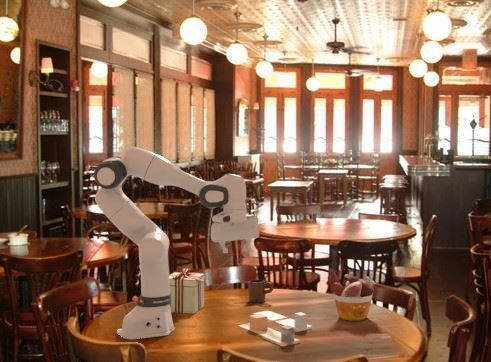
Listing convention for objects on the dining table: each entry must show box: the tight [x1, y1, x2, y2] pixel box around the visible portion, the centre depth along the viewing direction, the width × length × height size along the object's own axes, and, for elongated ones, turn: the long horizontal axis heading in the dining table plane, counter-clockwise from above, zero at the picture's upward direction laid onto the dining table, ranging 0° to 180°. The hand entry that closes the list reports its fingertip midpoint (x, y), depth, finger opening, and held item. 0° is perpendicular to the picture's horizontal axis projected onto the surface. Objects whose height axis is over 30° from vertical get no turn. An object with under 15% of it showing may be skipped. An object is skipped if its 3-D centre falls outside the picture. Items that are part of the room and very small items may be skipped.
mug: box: [248, 278, 274, 304], centre depth 308 cm, size 12×8×9 cm, turn 66°
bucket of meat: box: [327, 268, 376, 322], centre depth 277 cm, size 20×16×20 cm
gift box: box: [169, 268, 206, 314], centre depth 297 cm, size 17×18×17 cm
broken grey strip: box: [252, 310, 313, 333], centre depth 271 cm, size 8×30×6 cm, turn 33°
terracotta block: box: [249, 314, 269, 331], centre depth 258 cm, size 5×5×5 cm
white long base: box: [237, 322, 301, 347], centre depth 253 cm, size 8×30×6 cm, turn 33°
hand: (235, 251), depth 259 cm, fingers open, 8 cm apart
